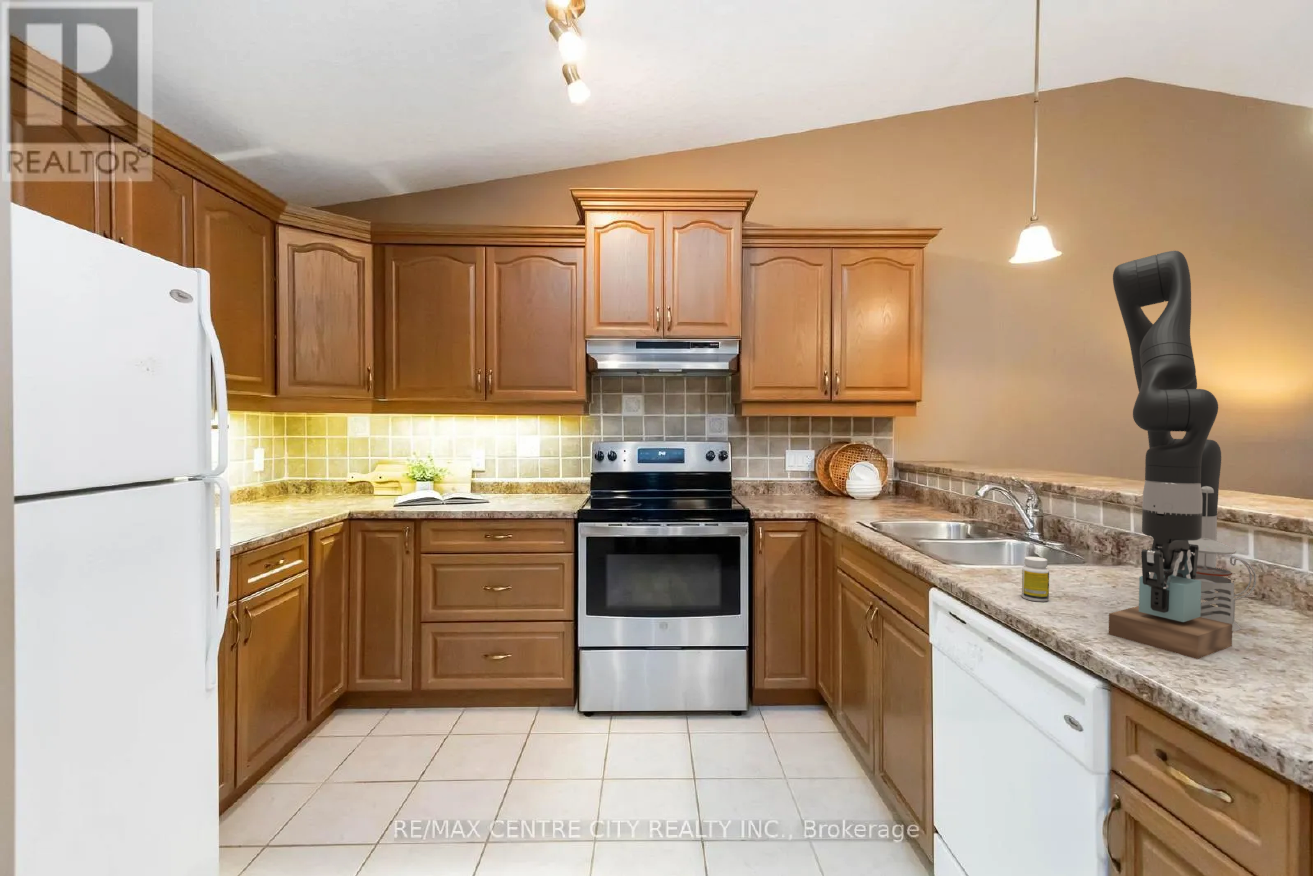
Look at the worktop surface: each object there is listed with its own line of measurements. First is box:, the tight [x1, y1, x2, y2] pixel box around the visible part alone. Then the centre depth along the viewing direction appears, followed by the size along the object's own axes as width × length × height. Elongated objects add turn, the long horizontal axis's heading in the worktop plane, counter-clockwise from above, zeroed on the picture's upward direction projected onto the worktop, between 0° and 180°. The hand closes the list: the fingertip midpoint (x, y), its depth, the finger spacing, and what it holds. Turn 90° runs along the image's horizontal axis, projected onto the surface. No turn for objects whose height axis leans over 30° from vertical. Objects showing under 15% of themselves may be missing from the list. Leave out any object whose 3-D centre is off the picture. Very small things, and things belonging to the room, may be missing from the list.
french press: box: [1183, 486, 1257, 632], centre depth 107 cm, size 10×12×25 cm
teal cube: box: [1138, 573, 1202, 622], centre depth 98 cm, size 6×6×6 cm
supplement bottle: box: [1021, 556, 1050, 603], centre depth 121 cm, size 5×5×8 cm
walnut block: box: [1108, 605, 1233, 660], centre depth 98 cm, size 12×12×4 cm
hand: (1169, 608), depth 98 cm, fingers closed on teal cube, 6 cm apart
